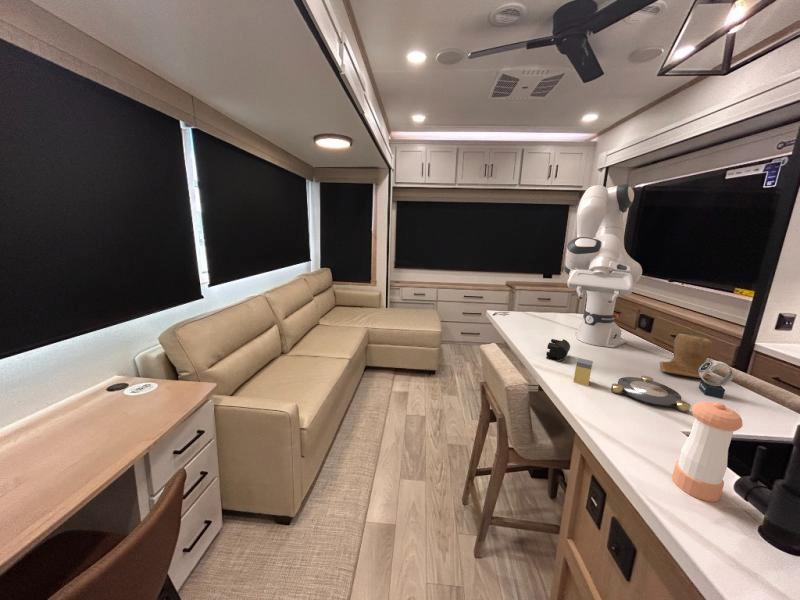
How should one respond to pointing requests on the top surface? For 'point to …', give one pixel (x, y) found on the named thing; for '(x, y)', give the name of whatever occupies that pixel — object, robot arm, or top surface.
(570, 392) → the top surface
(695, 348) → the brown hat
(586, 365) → the block
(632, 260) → the robot arm
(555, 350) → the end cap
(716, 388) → the watch
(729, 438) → the pepper shaker
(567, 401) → the top surface
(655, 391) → the levelling base
